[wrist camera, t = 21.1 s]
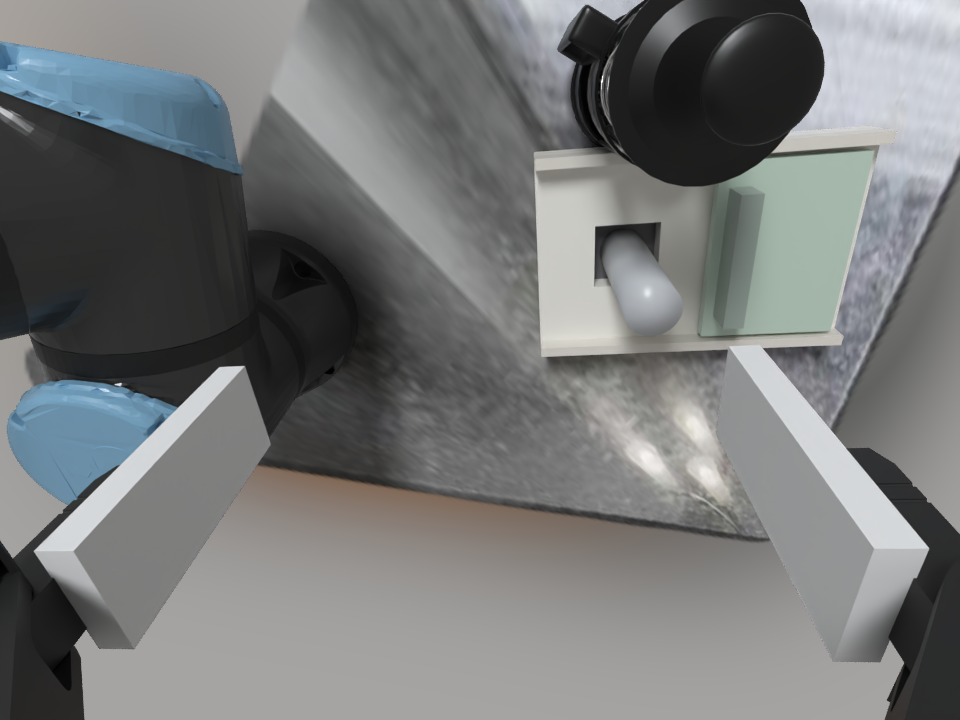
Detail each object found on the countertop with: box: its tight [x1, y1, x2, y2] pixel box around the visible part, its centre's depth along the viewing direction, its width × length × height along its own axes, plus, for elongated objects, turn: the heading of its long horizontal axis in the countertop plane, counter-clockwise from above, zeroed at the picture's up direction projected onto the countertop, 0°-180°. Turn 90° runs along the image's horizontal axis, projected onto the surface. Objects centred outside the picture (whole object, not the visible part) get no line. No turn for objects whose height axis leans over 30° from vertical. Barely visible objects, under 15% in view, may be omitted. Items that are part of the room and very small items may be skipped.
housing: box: [534, 126, 897, 357], centre depth 43 cm, size 24×16×4 cm, turn 95°
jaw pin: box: [599, 229, 683, 336], centre depth 39 cm, size 4×4×12 cm
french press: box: [557, 0, 825, 187], centre depth 29 cm, size 12×9×23 cm
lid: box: [698, 149, 875, 336], centre depth 40 cm, size 10×14×4 cm
